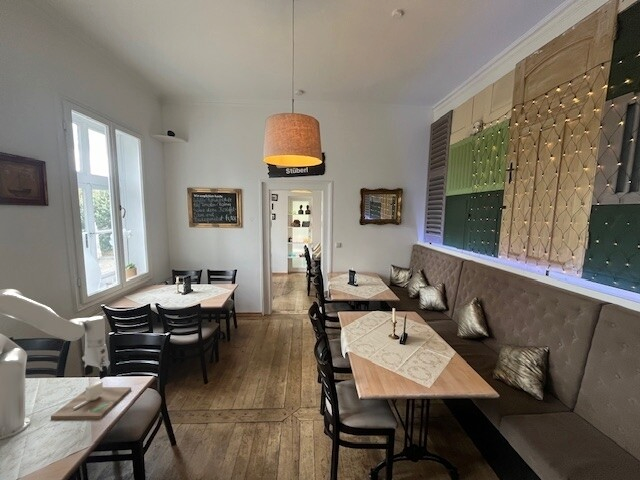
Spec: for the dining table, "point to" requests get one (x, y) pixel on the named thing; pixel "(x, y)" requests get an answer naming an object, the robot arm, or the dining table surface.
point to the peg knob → (92, 392)
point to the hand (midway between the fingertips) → (96, 375)
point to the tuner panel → (92, 404)
